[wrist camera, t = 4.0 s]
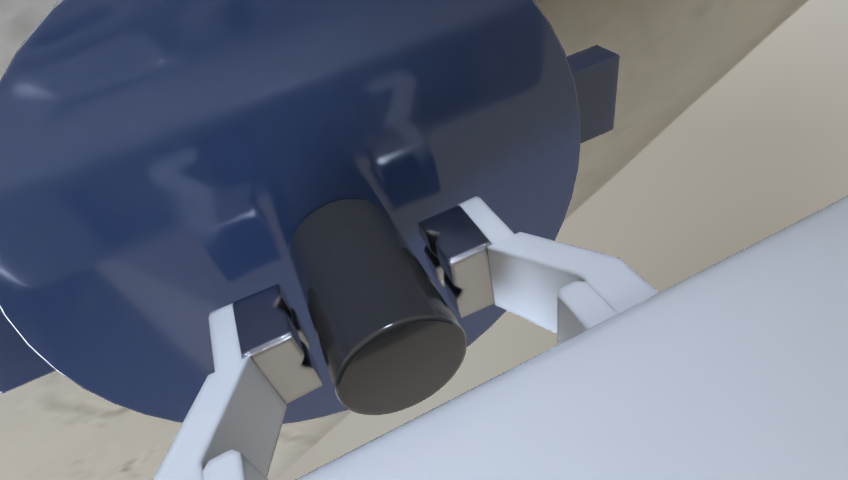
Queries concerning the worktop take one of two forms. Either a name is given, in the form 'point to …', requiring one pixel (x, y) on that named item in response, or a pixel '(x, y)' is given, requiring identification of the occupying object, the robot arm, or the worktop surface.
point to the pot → (596, 92)
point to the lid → (269, 182)
